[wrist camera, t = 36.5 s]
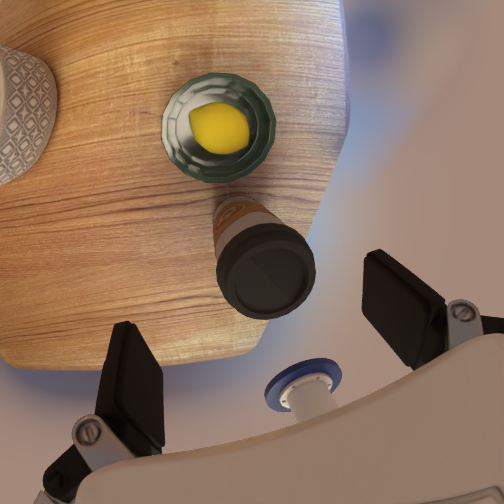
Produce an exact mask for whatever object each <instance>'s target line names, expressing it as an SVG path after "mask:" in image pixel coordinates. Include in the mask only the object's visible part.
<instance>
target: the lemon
mask: <svg viewBox="0 0 504 504" xmlns="http://www.w3.org/2000/svg"><path fill="white" fill-rule="evenodd" d="M189 118H190V125H191V128H192V132H193V135H194V137H195V140H196V141H197V142H198V143H199V144H200V145H201V146H202V147H203V148H205V149H206V150H207V151H209V152H210V153H216V154H231V153H234V152H237V151H239V150H241V149H243V148H244V147H246V146H247V145H248V142H249V126H248V122H247V119H246V116H245V115H244V114H243V113H242V112H241V111H240V110H238V109H237V108H235V107H233V106H232V105H229V104H227V103H224V102H211V103H208V104H205V105H203V106H200V107H198V108H195V109H193V110H191V111H190V113H189Z"/></svg>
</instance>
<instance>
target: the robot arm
mask: <svg viewBox="0 0 504 504" xmlns="http://www.w3.org/2000/svg"><path fill="white" fill-rule="evenodd" d="M362 296H363V297H362V312H363V314H364V316H365V317H366V318H367V319H368V321H369V322H370V323H371V324H372V325H373V327H374V328H375V329H376V330H377V331H378V332H379V334H380V335H381V336H382V337H383V338H384V340H385V341H386V342H387V343H388V344H389V346H390V347H391V348H392V349H393V350H394V352H395V353H396V354H397V355H398V356H399V358H400V359H401V360H402V362H403V363H404V364H405V365H406V366H408V367H409V366H410V367H411V368H412V369H413V372H411V373H409V374H408V375H406V376H404V377H402V378H400V379H399V380H397V381H395V382H393V383H391V384H389V385H387V386H385V387H383V388H381V389H380V390H377V391H375V392H373V393H371V394H369V395H367V396H365V397H363V398H361V399H358V400H356V401H354V402H352V403H349V404H347V405H345V406H342V407H340V408H339V407H338V405H337V403H336V402H335V400H334V398H333V396H332V394H331V392H330V389H331V387H332V380H331V378H330V376H329V375H327V374H325V373H311V374H307V375H304V376H302V377H299V378H297V379H295V380H294V381H292V382H291V383H289V384H288V385H287V386H286V387H285V388H284V389H283V390H282V391H281V393H280V395H279V400H280V403H281V405H282V406H284V407H286V408H290V409H291V412H292V414H293V417H294V419H295V421H296V424H295V425H292V426H289V427H286V428H283V429H279V430H276V431H272V432H269V433H266V434H262V435H259V436H255V437H251V438H248V439H243V440H239V441H235V442H230V443H226V444H221V445H217V446H211V447H206V448H200V449H195V450H189V451H182V452H176V453H169V454H162V447H164V446H165V432H164V406H163V405H164V404H163V372H162V369H161V367H160V366H159V364H158V362H157V361H156V359H155V358H154V356H153V354H152V353H151V351H150V349H149V347H148V346H147V344H146V342H145V341H144V339H143V337H142V335H141V333H140V332H139V330H138V328H137V326H136V325H135V324H134V323H132V324H131V323H130V322H129V321H124V322H120V323H116V324H115V325H114V328H113V331H112V335H111V340H110V344H109V348H108V352H107V357H106V360H105V362H104V365H103V369H102V375H101V380H100V385H99V390H98V396H97V401H96V408H95V414H94V415H86V416H83V417H82V418H80V419H79V420H78V421H77V422H76V423H75V425H74V427H73V430H72V439H73V442H74V444H73V445H72V446H71V447H70V448H69V449H68V450H67V451H66V452H64V453H63V454H62V455H61V456H60V457H59V458H58V459H57V460H56V461H55V462H54V463H53V464H51V466H49V467H48V468H47V470H46V471H45V473H44V475H43V486H44V488H45V490H44V492H43V491H41V490H40V492H39V494H38V496H37V498H36V499H35V501H34V503H33V504H504V318H498V317H490V316H482V315H480V313H479V311H478V308H477V307H476V306H475V305H474V304H473V303H471V302H469V301H467V300H462V299H459V300H454V301H452V302H450V303H449V304H448V306H447V305H446V304H445V299H444V298H443V297H442V296H440V295H439V294H438V293H437V292H436V291H434V290H433V289H432V288H431V287H430V286H428V285H427V284H426V283H425V282H423V281H422V280H421V279H419V278H418V277H417V276H416V275H415V274H413V273H412V272H411V271H409V270H408V269H407V268H405V267H404V266H403V265H402V264H400V263H399V262H398V261H396V260H395V259H394V258H392V257H391V256H390V255H388V254H387V253H385V252H384V251H383V250H381V249H377V250H375V251H371V252H369V253H367V256H366V257H365V258H364V272H363V295H362ZM424 364H425V365H424ZM158 454H161V455H158ZM152 455H153V456H152Z"/></svg>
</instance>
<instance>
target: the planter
mask: <svg viewBox="0 0 504 504" xmlns="http://www.w3.org/2000/svg"><path fill="white" fill-rule="evenodd" d="M56 112H57V88H56V83H55V79H54V77H53V74H52V72H51V70H50V69H49V67H48V66H47V64H46V63H45V62H44V61H43V60H41V59H39V58H38V57H36V56H33V55H30V54H27V53H24V52H21V51H18V50H15V49H12V48H9V47H5V46H2V45H0V186H1V185H3V184H5V183H7V182H9V181H11V180H14V179H16V178H18V177H19V176H21V175H23V174H24V173H25V172H27V171H28V170H29V169H30V168H31V167H32V166H33V165H34V164H35V162H36V161H37V160H38V159H39V157H40V156H41V154H42V153H43V151H44V149H45V147H46V145H47V143H48V141H49V138H50V136H51V133H52V130H53V126H54V123H55V118H56Z"/></svg>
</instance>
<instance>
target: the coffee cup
mask: <svg viewBox="0 0 504 504" xmlns="http://www.w3.org/2000/svg"><path fill="white" fill-rule="evenodd" d="M213 237H214V247H215V256H216V259H217V268H216V275H217V282H218V285H219V287H220V289H221V291H222V293H223V296H224V298H225V299H226V300H227V302H228V303H229V304H230V305H231V306H232V307H234V308H235V309H236V310H237V311H238V312H240V313H241V314H243V315H245V316H246V317H250V318H253V319H260V320H268V319H274V318H278V317H281V316H284V315H286V314H288V313H290V312H291V311H293V310H294V309H296V308H297V307H299V306H300V305H301V304H302V303H303V302H304V301H305V300H306V298H307V296H308V295H309V294H310V292H311V290H312V288H313V285H314V282H315V275H316V270H315V262H314V257H313V253H312V251H311V249H310V247H309V246H308V244H307V243H306V241H305V239H304V238H303V237H302V236H301V235H300V234H299V233H298V232H297V231H296V230H295V229H293V228H291V227H288V226H286V225H285V224H284V223H283V222H282V221H281V220H279V219H278V218H277V217H276V216H275V215H274V214H272V213H271V212H270V211H269V210H267V209H266V208H265V207H263V206H262V205H260V204H258V203H257V202H256V201H255V200H253V199H251V198H249V197H245V196H234V197H231V198H229V199H227V200H225V201H224V202H222V203H221V204H220V205H219V207H218V208H217V209H216V211H215V213H214V217H213Z"/></svg>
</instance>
